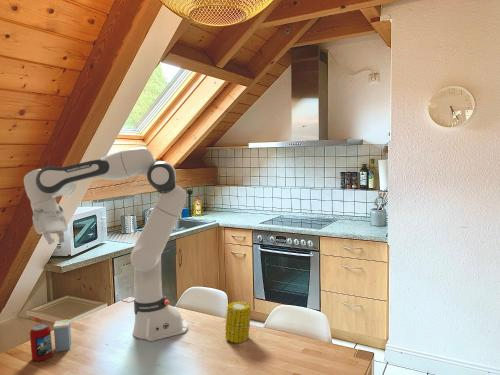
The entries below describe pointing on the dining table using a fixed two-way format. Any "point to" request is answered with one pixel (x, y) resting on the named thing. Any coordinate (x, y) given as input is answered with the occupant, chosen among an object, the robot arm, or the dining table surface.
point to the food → (238, 321)
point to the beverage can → (41, 342)
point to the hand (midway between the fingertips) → (57, 243)
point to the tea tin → (62, 335)
